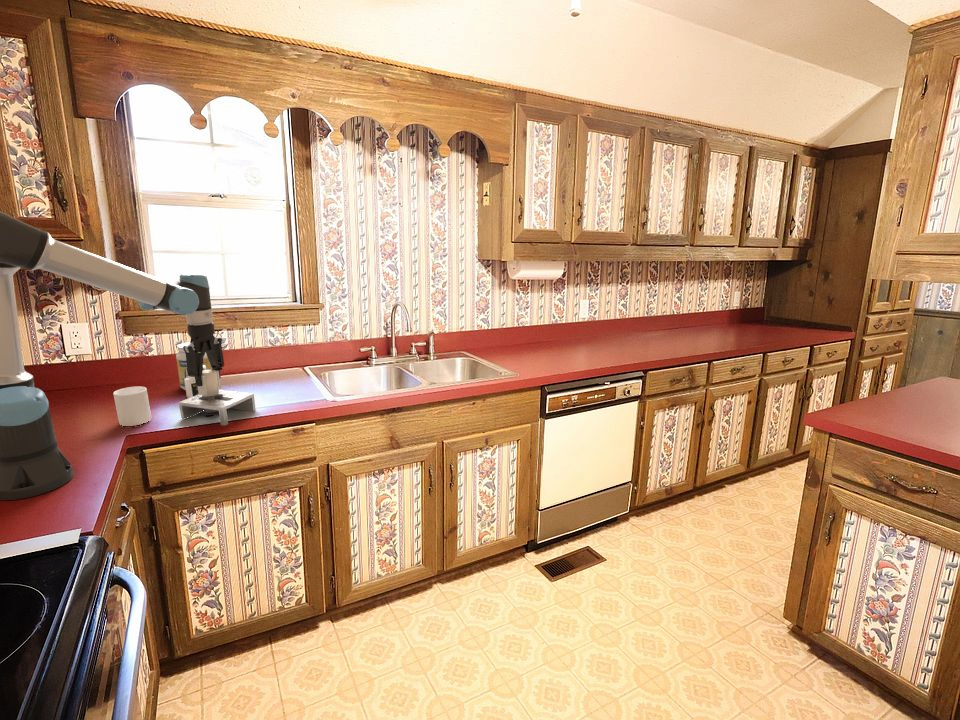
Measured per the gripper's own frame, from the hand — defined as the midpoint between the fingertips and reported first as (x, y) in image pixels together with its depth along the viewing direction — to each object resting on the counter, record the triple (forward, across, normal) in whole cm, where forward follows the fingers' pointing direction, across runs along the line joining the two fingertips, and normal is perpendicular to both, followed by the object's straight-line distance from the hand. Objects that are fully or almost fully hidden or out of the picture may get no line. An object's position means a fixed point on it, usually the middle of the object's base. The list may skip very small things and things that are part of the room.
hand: (210, 391), depth 164 cm
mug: (+8, -12, +19) cm, 24 cm away
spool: (+6, 0, 0) cm, 6 cm away
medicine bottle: (+8, +12, +17) cm, 22 cm away
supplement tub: (+8, +21, +27) cm, 35 cm away
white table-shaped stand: (+8, 0, -2) cm, 8 cm away
